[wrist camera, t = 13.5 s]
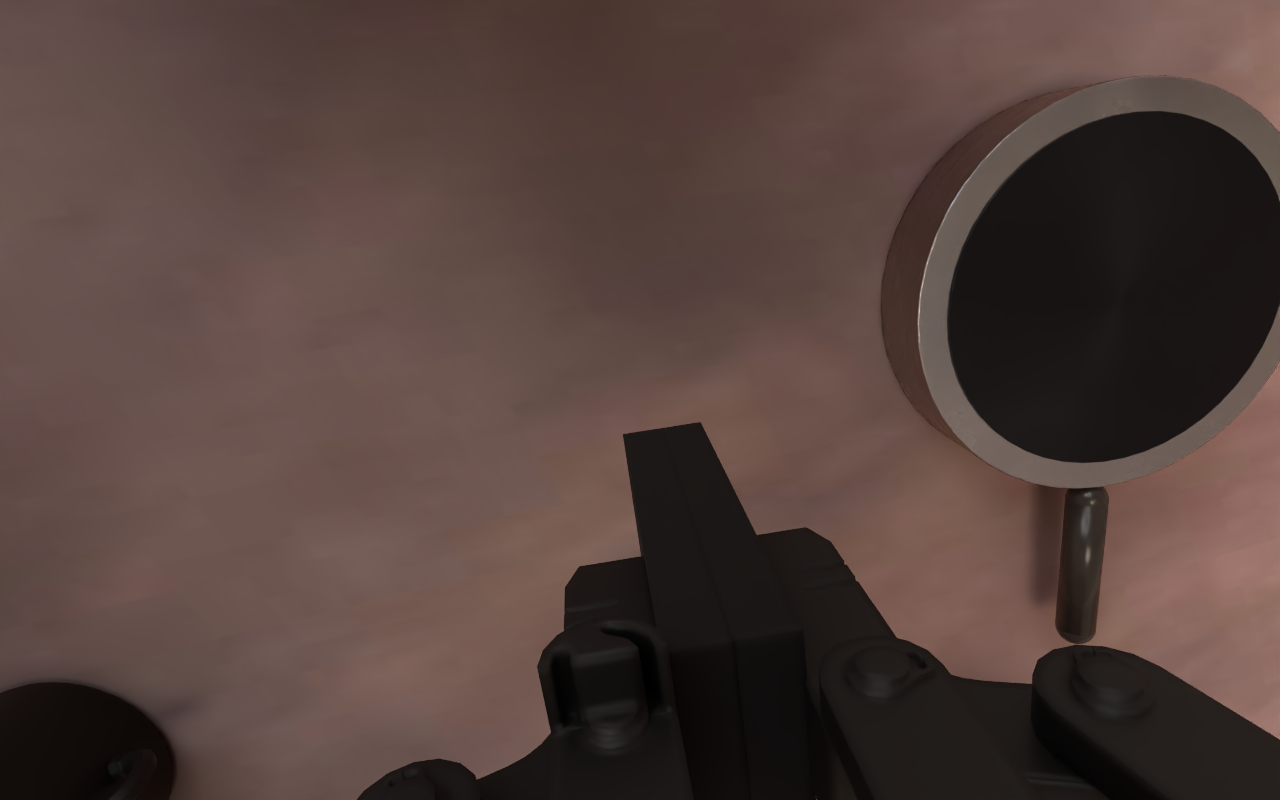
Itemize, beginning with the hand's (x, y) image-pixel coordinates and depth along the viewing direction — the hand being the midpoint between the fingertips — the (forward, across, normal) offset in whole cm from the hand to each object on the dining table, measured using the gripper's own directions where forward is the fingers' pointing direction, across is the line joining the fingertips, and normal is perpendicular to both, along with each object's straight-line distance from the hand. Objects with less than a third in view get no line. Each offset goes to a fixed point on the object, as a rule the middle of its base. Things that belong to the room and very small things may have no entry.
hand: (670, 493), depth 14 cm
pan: (+17, +19, -5) cm, 26 cm away
